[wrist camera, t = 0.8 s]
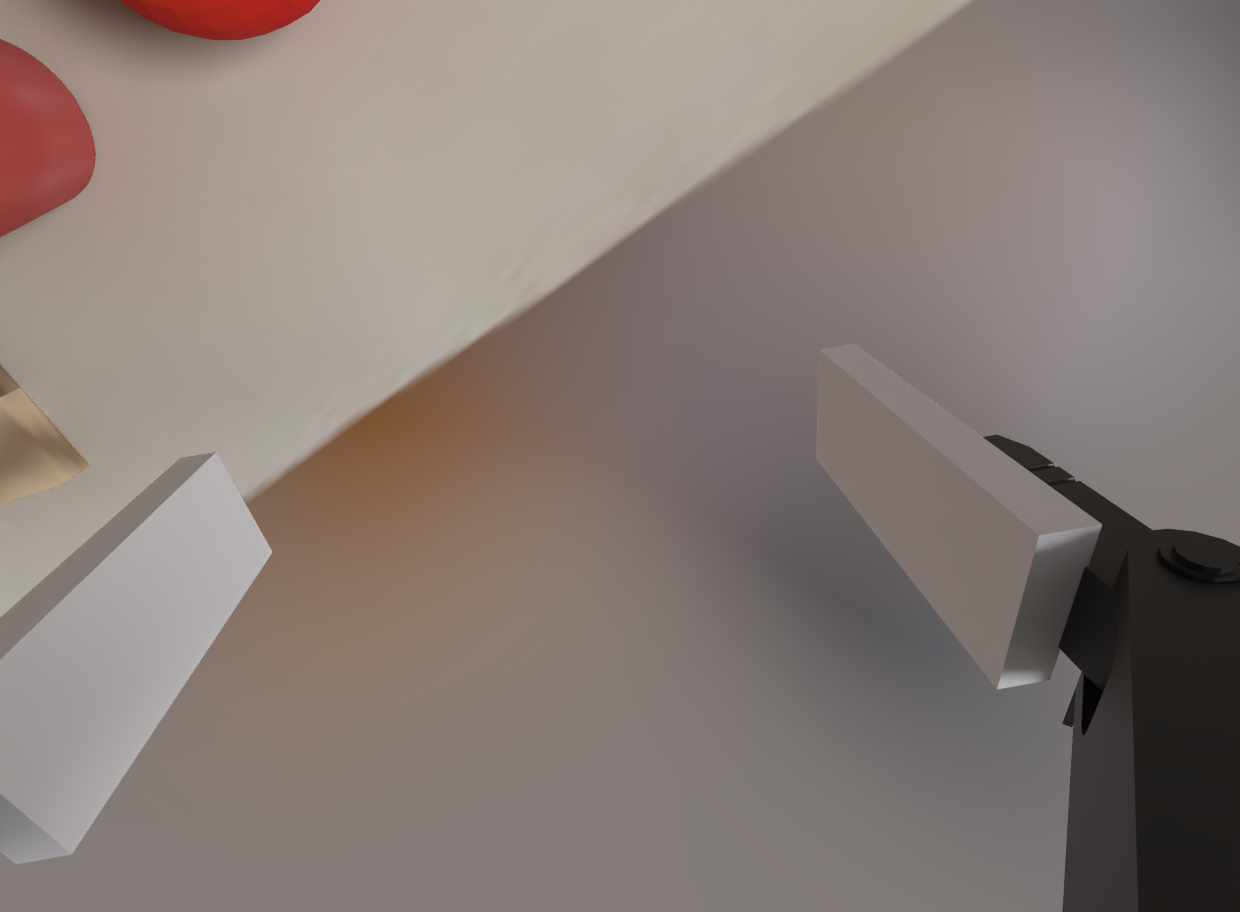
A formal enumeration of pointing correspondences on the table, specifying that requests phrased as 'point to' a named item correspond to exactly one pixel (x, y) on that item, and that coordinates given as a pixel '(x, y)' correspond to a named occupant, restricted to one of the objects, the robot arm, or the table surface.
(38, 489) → the subfloor panel
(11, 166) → the flower pot
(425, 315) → the table surface
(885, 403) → the robot arm
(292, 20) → the tomato
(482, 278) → the table surface
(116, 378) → the table surface
